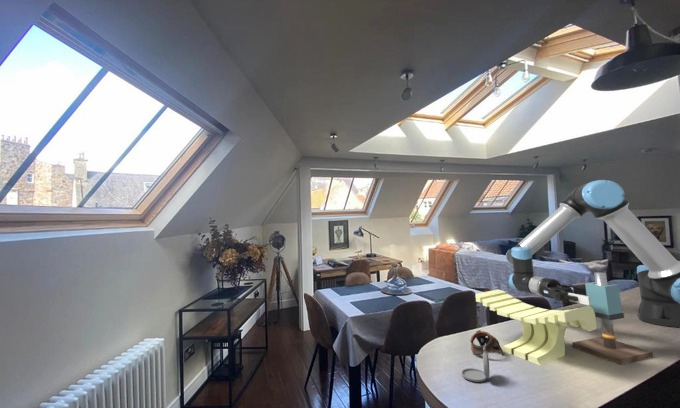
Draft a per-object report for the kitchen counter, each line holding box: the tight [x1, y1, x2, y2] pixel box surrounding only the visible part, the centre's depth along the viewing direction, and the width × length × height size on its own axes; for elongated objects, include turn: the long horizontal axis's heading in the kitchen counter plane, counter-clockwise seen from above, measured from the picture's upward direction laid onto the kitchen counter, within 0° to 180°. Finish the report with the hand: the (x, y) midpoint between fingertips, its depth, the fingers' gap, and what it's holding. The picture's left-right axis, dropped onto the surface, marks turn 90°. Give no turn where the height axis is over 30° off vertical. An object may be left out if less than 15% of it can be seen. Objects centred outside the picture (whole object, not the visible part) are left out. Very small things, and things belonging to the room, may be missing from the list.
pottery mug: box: [469, 330, 504, 356], centre depth 99 cm, size 12×10×8 cm
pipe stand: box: [571, 271, 654, 365], centre depth 95 cm, size 14×14×26 cm
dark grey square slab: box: [594, 312, 625, 321], centre depth 95 cm, size 6×6×2 cm
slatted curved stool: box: [475, 289, 598, 366], centre depth 98 cm, size 30×16×18 cm, turn 25°
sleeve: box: [584, 281, 623, 315], centre depth 96 cm, size 6×6×9 cm
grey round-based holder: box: [461, 343, 491, 383], centre depth 83 cm, size 8×8×10 cm
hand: (605, 298), depth 95 cm, fingers open, 13 cm apart
